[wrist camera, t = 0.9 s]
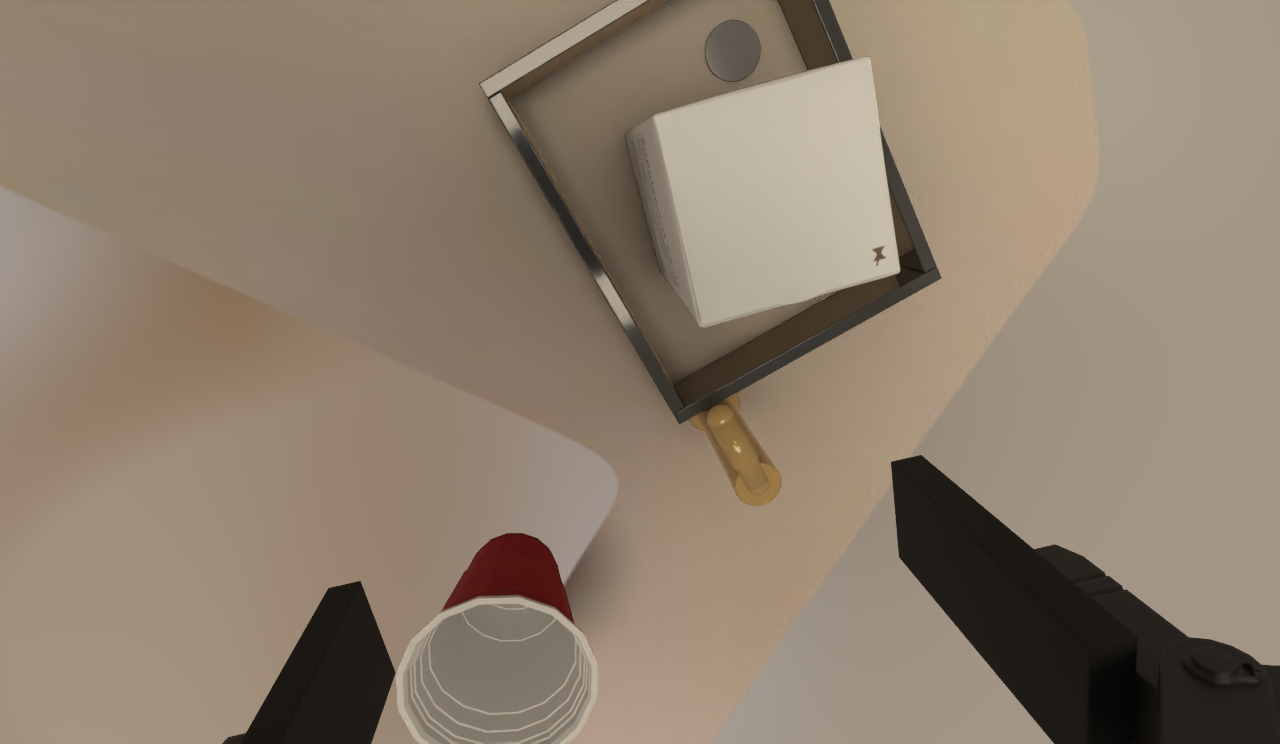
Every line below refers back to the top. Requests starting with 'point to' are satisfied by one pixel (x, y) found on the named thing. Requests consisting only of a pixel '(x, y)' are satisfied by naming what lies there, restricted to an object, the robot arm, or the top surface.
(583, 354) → the top surface
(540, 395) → the top surface
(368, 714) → the robot arm
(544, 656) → the plastic cup
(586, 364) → the top surface
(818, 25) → the sink
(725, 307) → the rectangular carton
